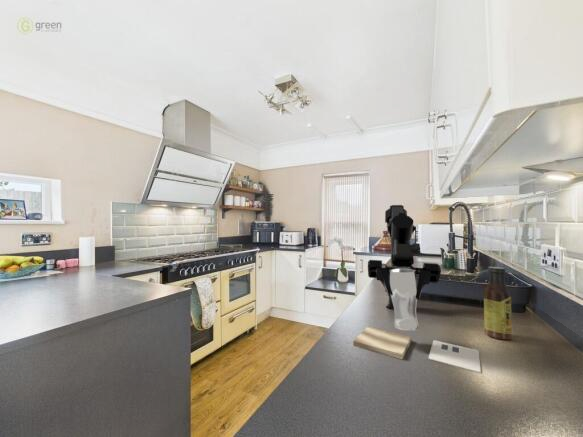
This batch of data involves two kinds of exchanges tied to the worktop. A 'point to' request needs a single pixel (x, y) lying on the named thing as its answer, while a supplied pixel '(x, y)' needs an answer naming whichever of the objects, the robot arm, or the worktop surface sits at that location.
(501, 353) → the worktop surface
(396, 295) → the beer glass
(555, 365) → the worktop surface
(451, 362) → the card
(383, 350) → the birch board
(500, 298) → the sauce bottle
